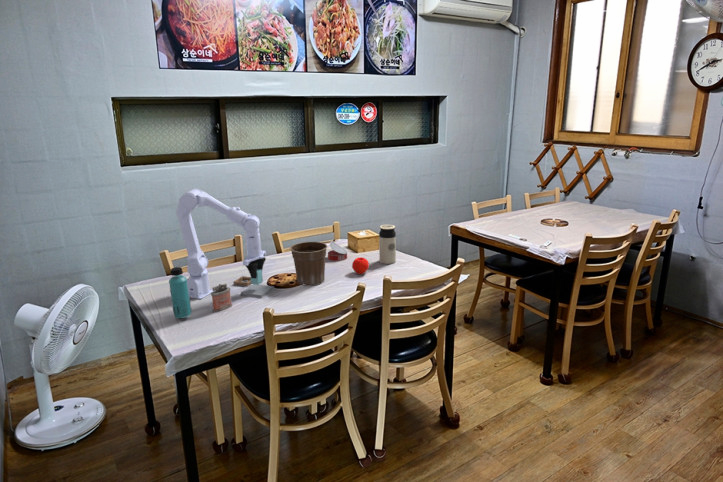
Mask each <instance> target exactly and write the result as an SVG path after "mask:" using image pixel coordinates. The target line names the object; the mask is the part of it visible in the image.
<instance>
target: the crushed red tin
mask: <svg viewBox="0 0 723 482" xmlns="http://www.w3.org/2000/svg"><path fill="white" fill-rule="evenodd" d="M212 289H213V292H212V293H210V295H211V300H212V311H213V313H220V312H223V311H226V310H227V309H230V308H232V306H233V304H232V297H231V288H230V287H228V283H227V282H226V283H219V284H218V285H216V286H215V285H214V286H213V287H212Z"/></svg>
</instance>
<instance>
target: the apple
mask: <svg viewBox="0 0 723 482" xmlns="http://www.w3.org/2000/svg"><path fill="white" fill-rule="evenodd" d="M351 267H352V269H353V271H354V273H356V274H358V275H362V274H365V273H366V272H367V271H368V270H369V267H370V264H369V261H368V260H367V258H365V257H356V258H355V259H354V260H353V261H352V264H351Z"/></svg>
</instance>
